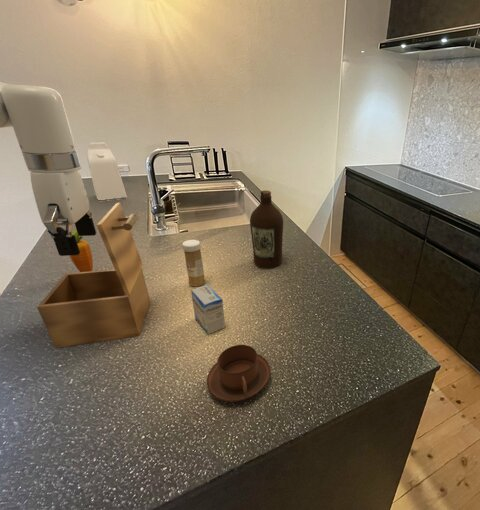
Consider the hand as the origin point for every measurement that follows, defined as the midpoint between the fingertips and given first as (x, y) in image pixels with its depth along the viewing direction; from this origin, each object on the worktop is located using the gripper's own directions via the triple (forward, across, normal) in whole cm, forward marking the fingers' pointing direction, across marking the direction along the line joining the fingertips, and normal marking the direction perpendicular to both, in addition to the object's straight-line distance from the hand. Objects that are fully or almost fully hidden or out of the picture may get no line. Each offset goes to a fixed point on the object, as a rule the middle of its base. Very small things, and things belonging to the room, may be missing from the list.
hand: (79, 244), depth 64 cm
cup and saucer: (+20, +26, +30) cm, 45 cm away
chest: (+21, 0, +1) cm, 21 cm away
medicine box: (+20, +6, +24) cm, 32 cm away
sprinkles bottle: (+21, -14, +20) cm, 32 cm away
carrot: (+21, -24, -10) cm, 34 cm away
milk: (+22, -108, -25) cm, 113 cm away
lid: (+1, 0, +7) cm, 7 cm away
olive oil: (+20, -23, +42) cm, 52 cm away
